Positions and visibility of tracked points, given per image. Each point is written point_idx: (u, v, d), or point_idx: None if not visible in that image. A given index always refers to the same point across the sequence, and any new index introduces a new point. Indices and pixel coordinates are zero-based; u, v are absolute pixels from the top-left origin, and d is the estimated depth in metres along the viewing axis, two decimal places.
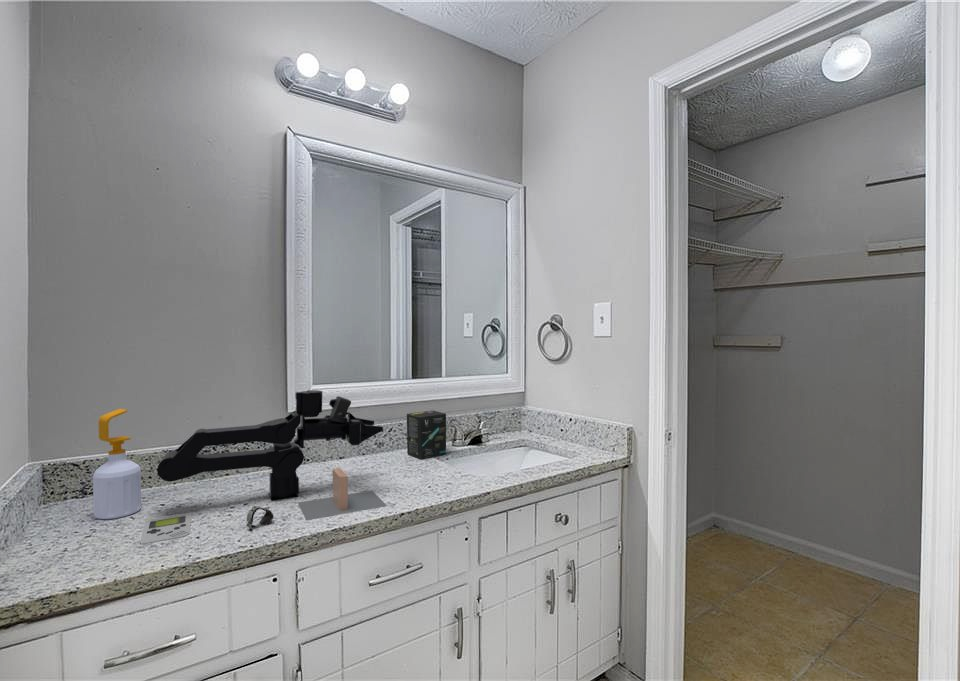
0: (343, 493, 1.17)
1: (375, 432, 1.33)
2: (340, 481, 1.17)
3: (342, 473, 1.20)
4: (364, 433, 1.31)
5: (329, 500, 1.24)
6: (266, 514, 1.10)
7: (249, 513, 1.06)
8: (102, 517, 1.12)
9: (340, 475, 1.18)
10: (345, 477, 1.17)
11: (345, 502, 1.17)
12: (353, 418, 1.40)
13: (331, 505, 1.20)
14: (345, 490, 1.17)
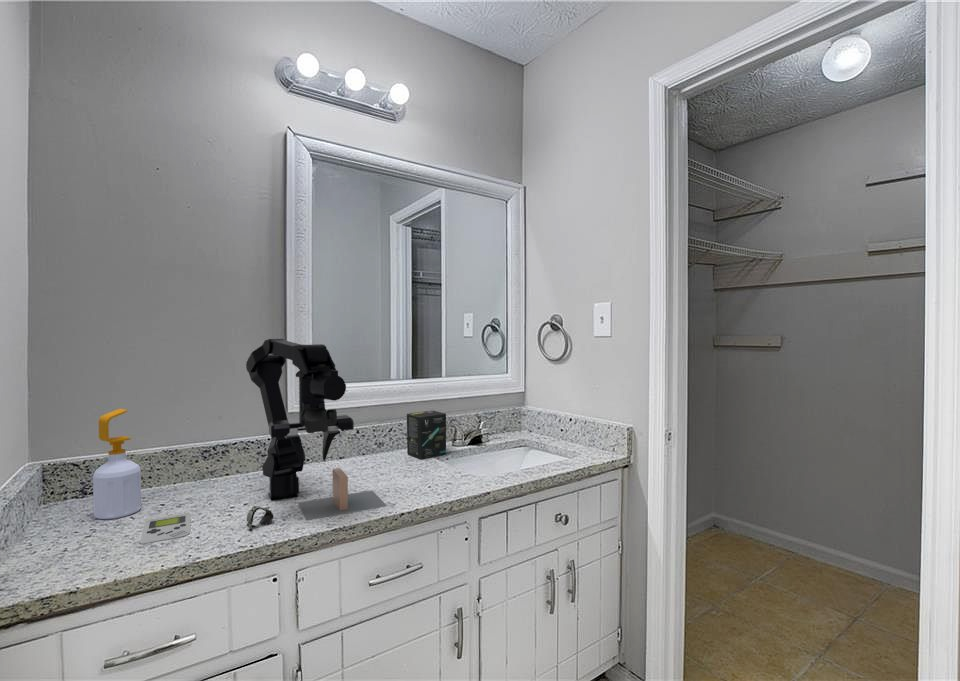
0: (343, 493, 1.17)
1: (296, 453, 1.16)
2: (340, 481, 1.17)
3: (342, 473, 1.20)
4: None
5: (329, 500, 1.24)
6: (266, 514, 1.10)
7: (249, 513, 1.06)
8: (102, 517, 1.12)
9: (340, 475, 1.18)
10: (345, 477, 1.17)
11: (345, 502, 1.17)
12: (326, 436, 1.17)
13: (331, 505, 1.20)
14: (345, 490, 1.17)
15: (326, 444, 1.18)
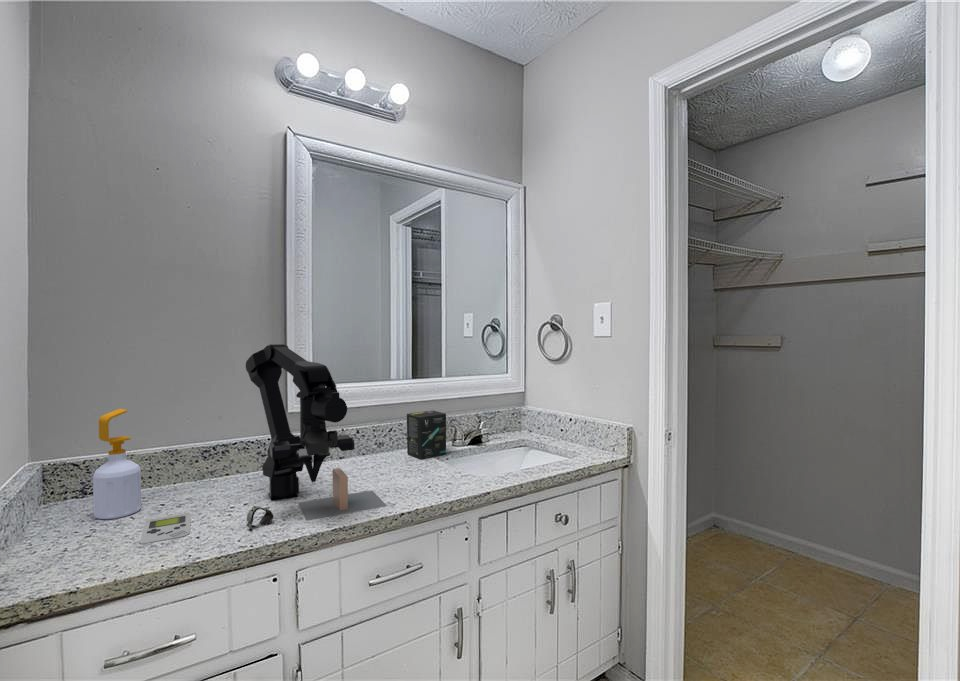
0: (343, 493, 1.17)
1: (308, 472, 1.18)
2: (340, 481, 1.17)
3: (342, 473, 1.20)
4: None
5: (329, 500, 1.24)
6: (266, 514, 1.10)
7: (249, 513, 1.06)
8: (102, 517, 1.12)
9: (340, 475, 1.18)
10: (345, 477, 1.17)
11: (345, 502, 1.17)
12: (316, 458, 1.16)
13: (331, 505, 1.20)
14: (345, 490, 1.17)
15: (316, 466, 1.17)
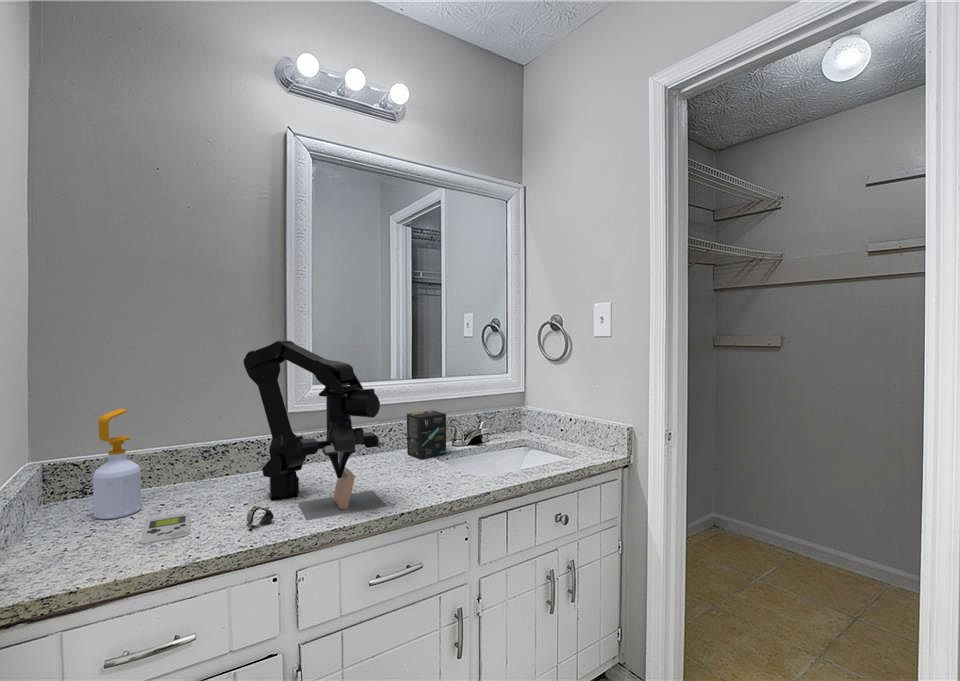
0: (346, 492, 1.17)
1: (334, 468, 1.20)
2: (347, 479, 1.18)
3: (349, 472, 1.20)
4: None
5: (329, 500, 1.24)
6: (266, 514, 1.10)
7: (249, 513, 1.06)
8: (102, 517, 1.12)
9: (348, 474, 1.19)
10: (352, 476, 1.18)
11: (347, 501, 1.17)
12: (342, 454, 1.19)
13: (331, 505, 1.20)
14: (349, 489, 1.18)
15: (342, 462, 1.19)
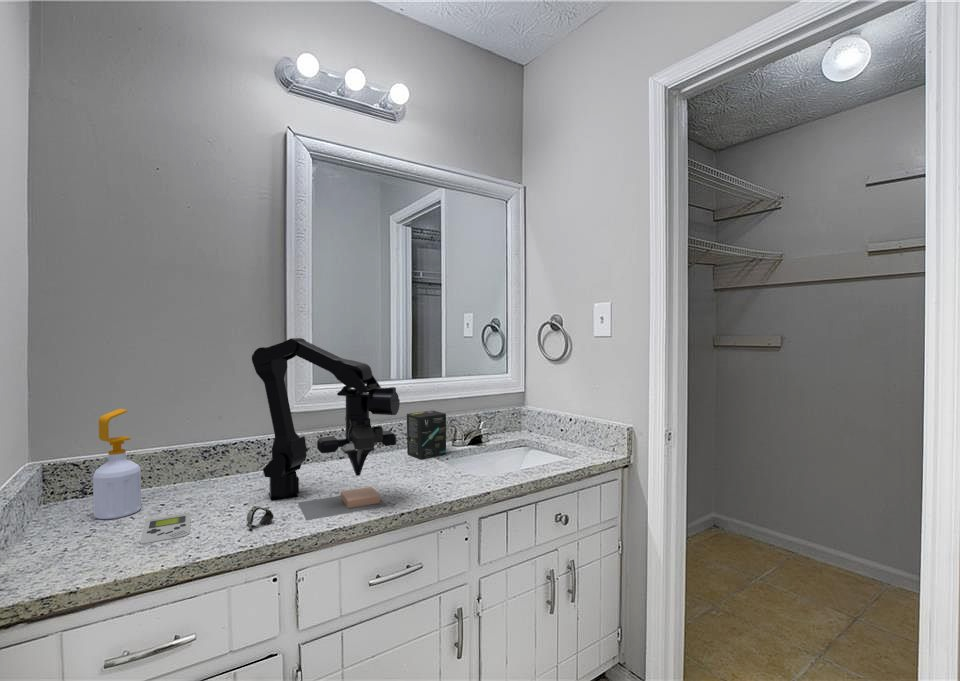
0: (364, 501, 1.20)
1: None
2: (375, 496, 1.21)
3: None
4: None
5: (329, 500, 1.24)
6: (266, 514, 1.10)
7: (249, 513, 1.06)
8: (102, 517, 1.12)
9: None
10: (379, 501, 1.21)
11: (355, 505, 1.18)
12: (361, 452, 1.22)
13: (331, 505, 1.20)
14: (366, 503, 1.20)
15: (361, 460, 1.22)
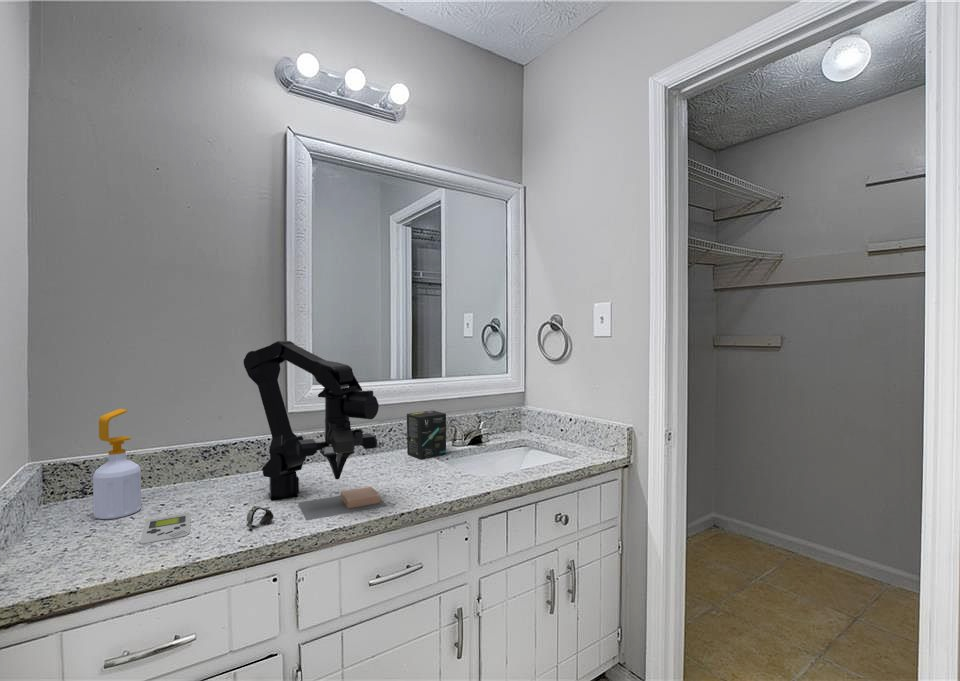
0: (364, 501, 1.20)
1: (332, 469, 1.20)
2: (375, 496, 1.21)
3: None
4: None
5: (329, 500, 1.24)
6: (266, 514, 1.10)
7: (249, 513, 1.06)
8: (102, 517, 1.12)
9: None
10: (379, 501, 1.21)
11: (355, 505, 1.18)
12: (341, 456, 1.19)
13: (331, 505, 1.20)
14: (366, 503, 1.20)
15: (340, 463, 1.20)
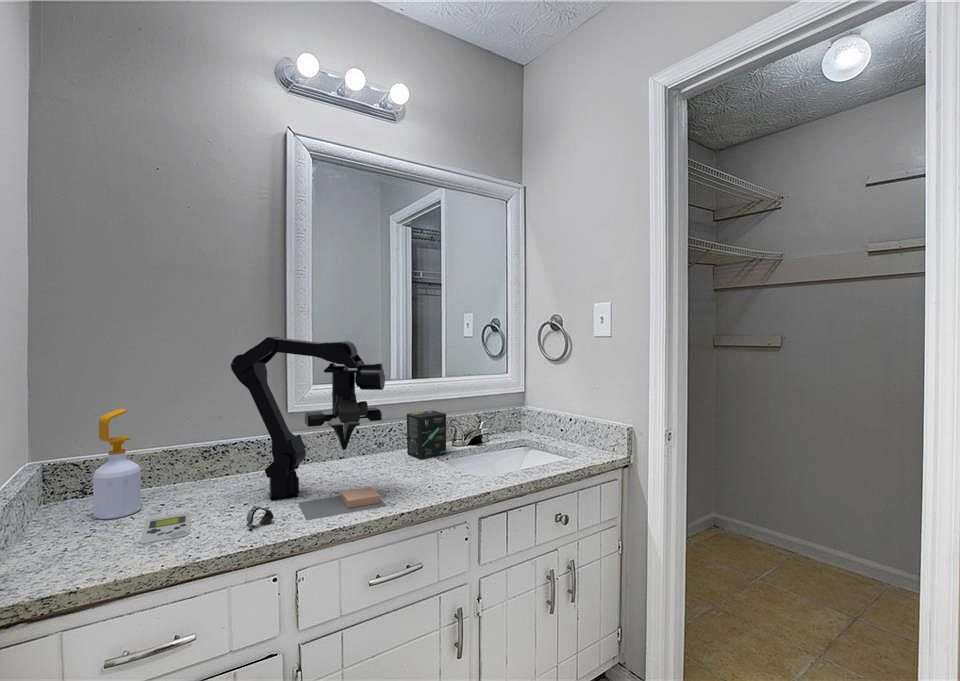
0: (364, 501, 1.20)
1: (339, 440, 1.27)
2: (375, 496, 1.21)
3: None
4: None
5: (329, 500, 1.24)
6: (266, 514, 1.10)
7: (249, 513, 1.06)
8: (102, 517, 1.12)
9: None
10: (379, 501, 1.21)
11: (355, 505, 1.18)
12: (347, 427, 1.26)
13: (331, 505, 1.20)
14: (366, 503, 1.20)
15: (347, 435, 1.26)
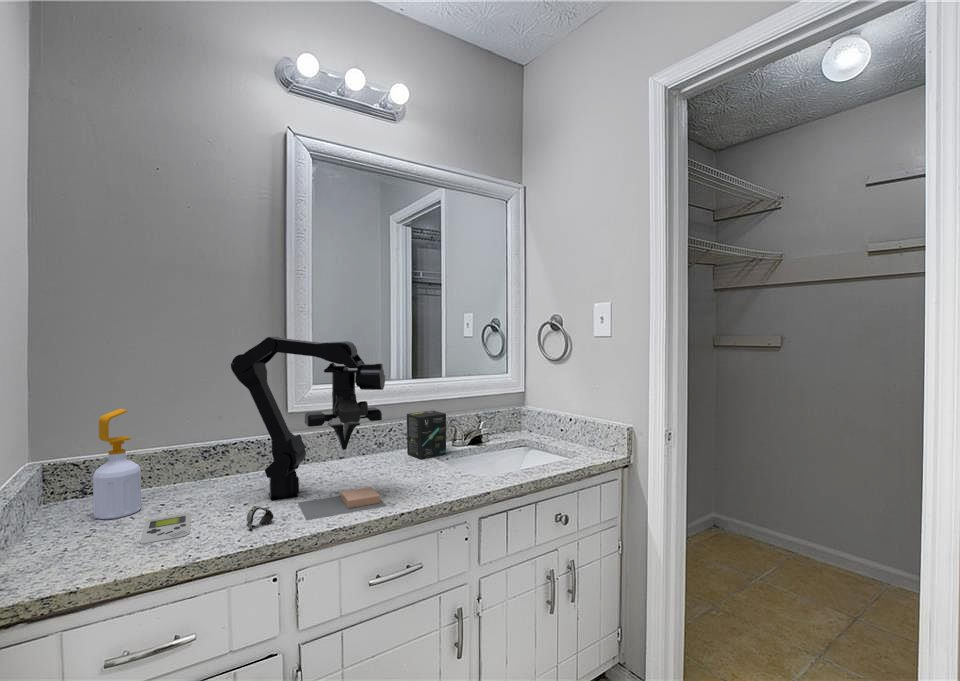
0: (364, 501, 1.20)
1: (339, 440, 1.27)
2: (375, 496, 1.21)
3: None
4: None
5: (329, 500, 1.24)
6: (266, 514, 1.10)
7: (249, 513, 1.06)
8: (102, 517, 1.12)
9: None
10: (379, 501, 1.21)
11: (355, 505, 1.18)
12: (347, 427, 1.26)
13: (331, 505, 1.20)
14: (366, 503, 1.20)
15: (347, 435, 1.26)
